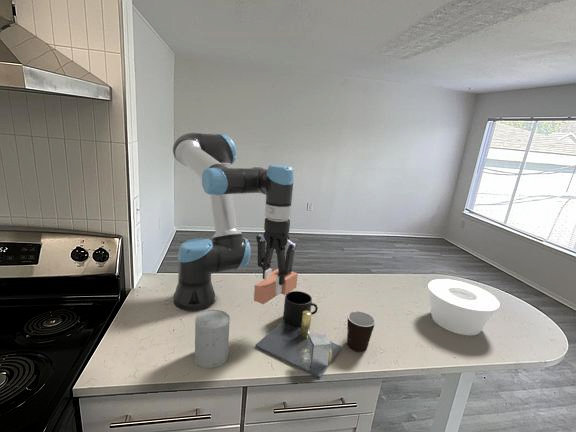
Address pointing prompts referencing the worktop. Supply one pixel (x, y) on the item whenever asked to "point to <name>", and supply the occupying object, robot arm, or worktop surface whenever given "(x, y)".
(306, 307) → the mug
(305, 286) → the worktop surface
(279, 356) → the dark grey rectangular mat
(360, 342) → the coffee mug
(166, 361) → the worktop surface
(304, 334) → the post
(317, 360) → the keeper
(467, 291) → the bowl
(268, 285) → the link
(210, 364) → the white marble cylinder
